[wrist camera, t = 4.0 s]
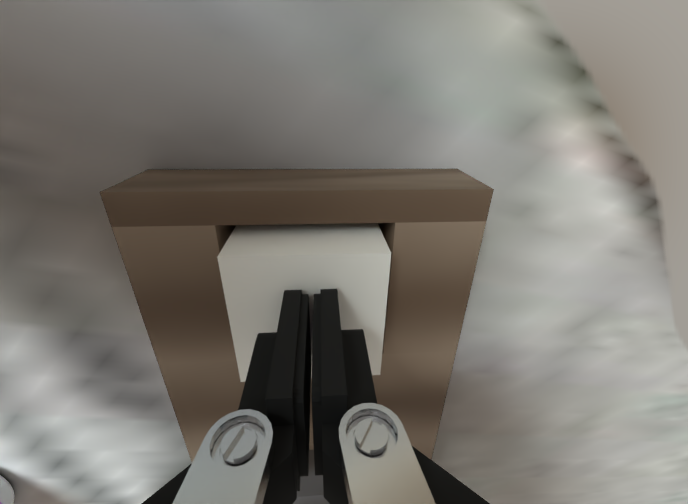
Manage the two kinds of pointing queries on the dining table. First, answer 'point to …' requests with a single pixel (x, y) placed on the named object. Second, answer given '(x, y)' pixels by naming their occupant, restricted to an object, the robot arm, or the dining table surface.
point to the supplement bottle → (6, 492)
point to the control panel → (300, 208)
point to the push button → (305, 279)
